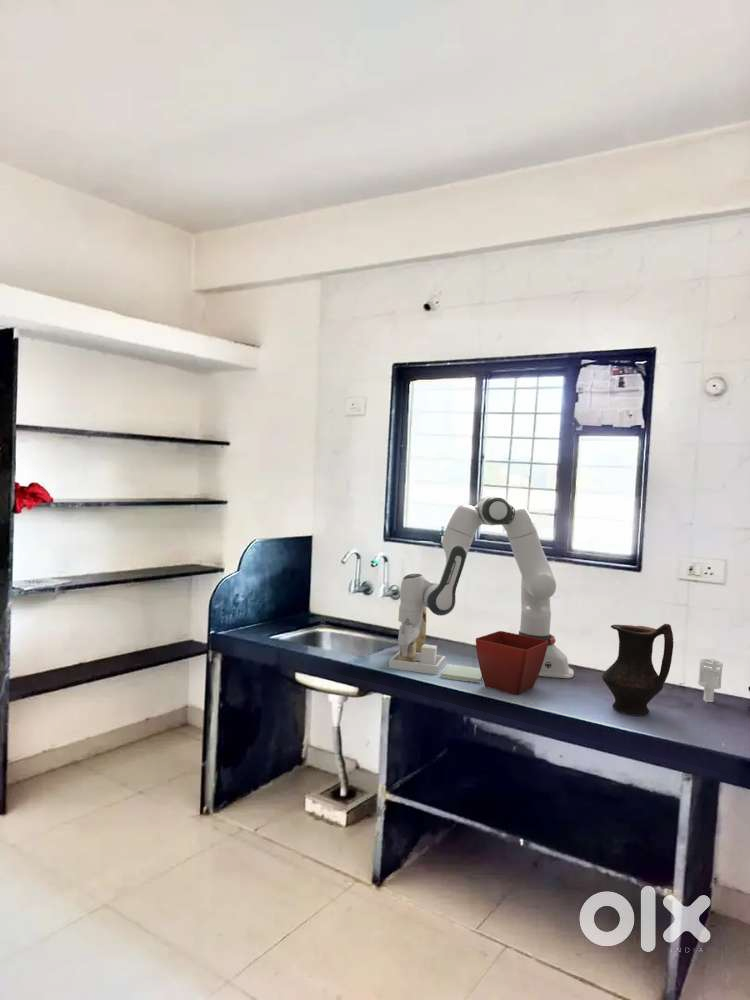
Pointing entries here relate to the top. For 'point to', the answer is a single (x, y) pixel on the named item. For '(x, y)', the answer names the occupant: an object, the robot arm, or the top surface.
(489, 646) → the plant pot
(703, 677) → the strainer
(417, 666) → the shallow white tray
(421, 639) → the food model
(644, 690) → the jug
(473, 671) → the sage board
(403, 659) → the labelled oak box
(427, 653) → the plain white box
